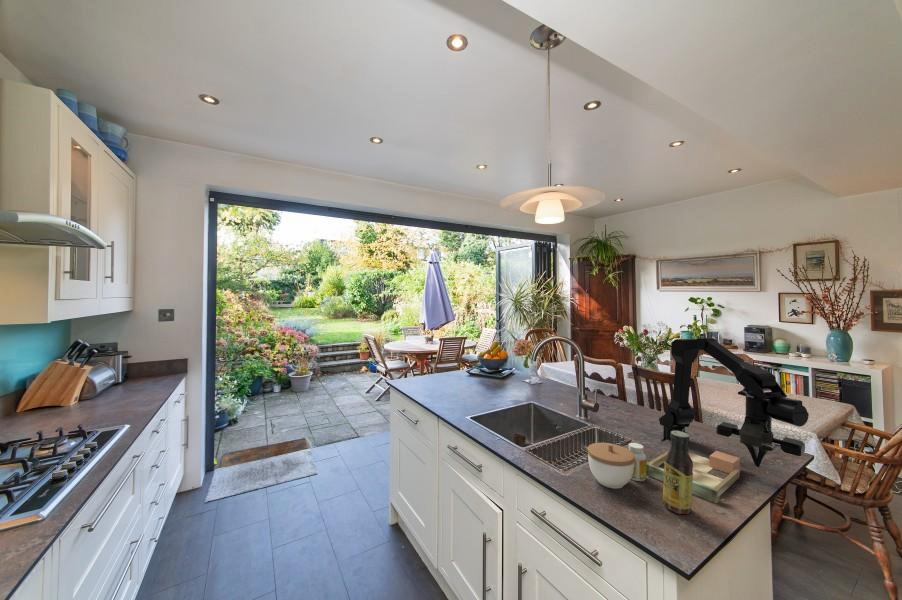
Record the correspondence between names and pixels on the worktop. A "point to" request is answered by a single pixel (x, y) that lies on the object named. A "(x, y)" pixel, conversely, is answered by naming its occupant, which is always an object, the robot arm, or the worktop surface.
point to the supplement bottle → (638, 462)
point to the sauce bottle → (678, 475)
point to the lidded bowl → (611, 464)
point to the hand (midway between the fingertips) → (757, 466)
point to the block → (724, 462)
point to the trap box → (697, 477)
